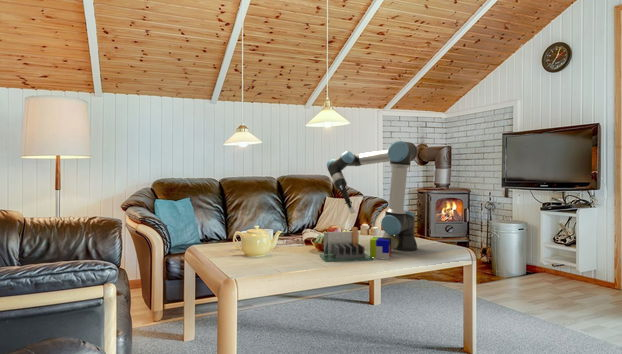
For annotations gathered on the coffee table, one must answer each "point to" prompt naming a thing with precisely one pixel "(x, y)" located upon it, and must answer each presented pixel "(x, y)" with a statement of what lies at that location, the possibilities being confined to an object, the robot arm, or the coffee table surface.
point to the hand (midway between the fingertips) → (352, 212)
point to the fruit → (392, 240)
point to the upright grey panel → (337, 240)
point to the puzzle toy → (380, 247)
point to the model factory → (348, 251)
